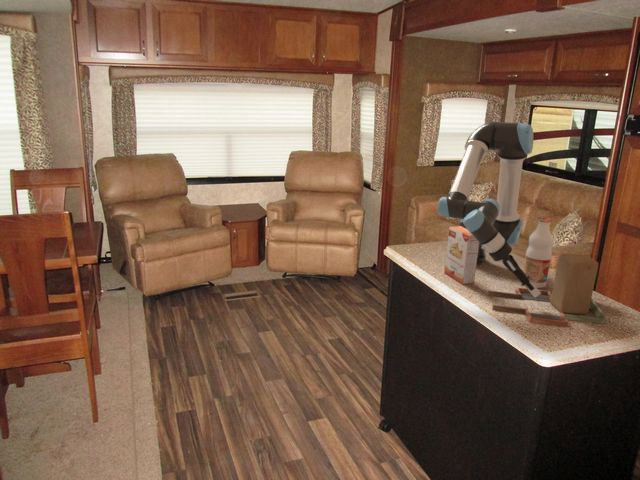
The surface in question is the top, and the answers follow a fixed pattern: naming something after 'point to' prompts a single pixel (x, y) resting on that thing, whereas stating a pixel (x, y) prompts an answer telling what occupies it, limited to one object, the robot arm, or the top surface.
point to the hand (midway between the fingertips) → (537, 294)
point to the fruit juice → (539, 253)
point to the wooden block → (574, 283)
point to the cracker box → (461, 255)
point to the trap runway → (544, 318)
